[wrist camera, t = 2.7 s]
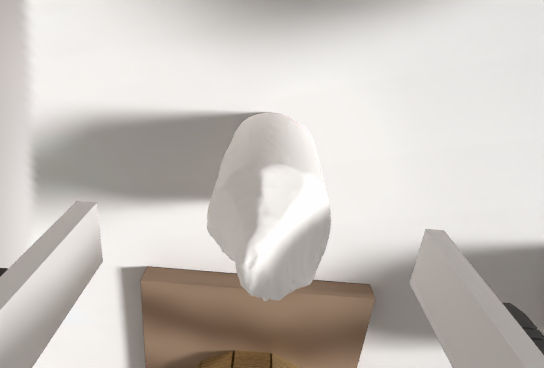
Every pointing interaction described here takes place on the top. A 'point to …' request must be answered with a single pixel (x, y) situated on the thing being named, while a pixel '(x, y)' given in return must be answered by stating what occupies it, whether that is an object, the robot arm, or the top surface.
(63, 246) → the robot arm
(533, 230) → the top surface
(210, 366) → the collar
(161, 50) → the top surface
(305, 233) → the white tall rounded piece
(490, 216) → the top surface
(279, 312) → the walnut board
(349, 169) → the top surface
